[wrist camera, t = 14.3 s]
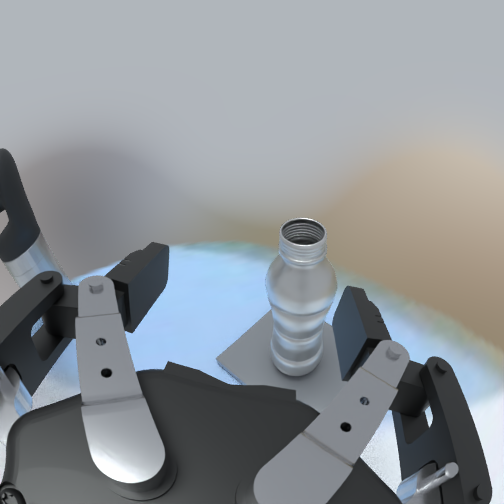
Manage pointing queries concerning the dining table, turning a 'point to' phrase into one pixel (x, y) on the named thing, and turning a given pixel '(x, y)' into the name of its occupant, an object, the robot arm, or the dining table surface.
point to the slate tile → (266, 373)
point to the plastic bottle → (300, 295)
